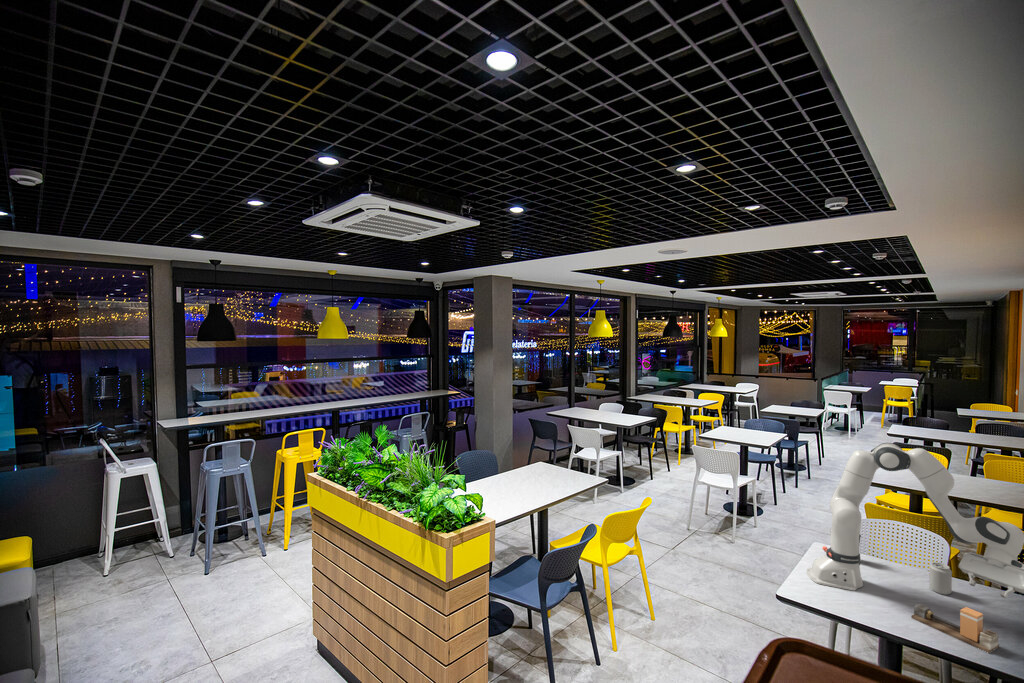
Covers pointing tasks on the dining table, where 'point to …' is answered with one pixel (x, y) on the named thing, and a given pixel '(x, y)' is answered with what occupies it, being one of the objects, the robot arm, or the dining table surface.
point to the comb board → (955, 629)
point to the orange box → (971, 623)
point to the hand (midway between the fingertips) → (987, 590)
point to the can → (940, 578)
